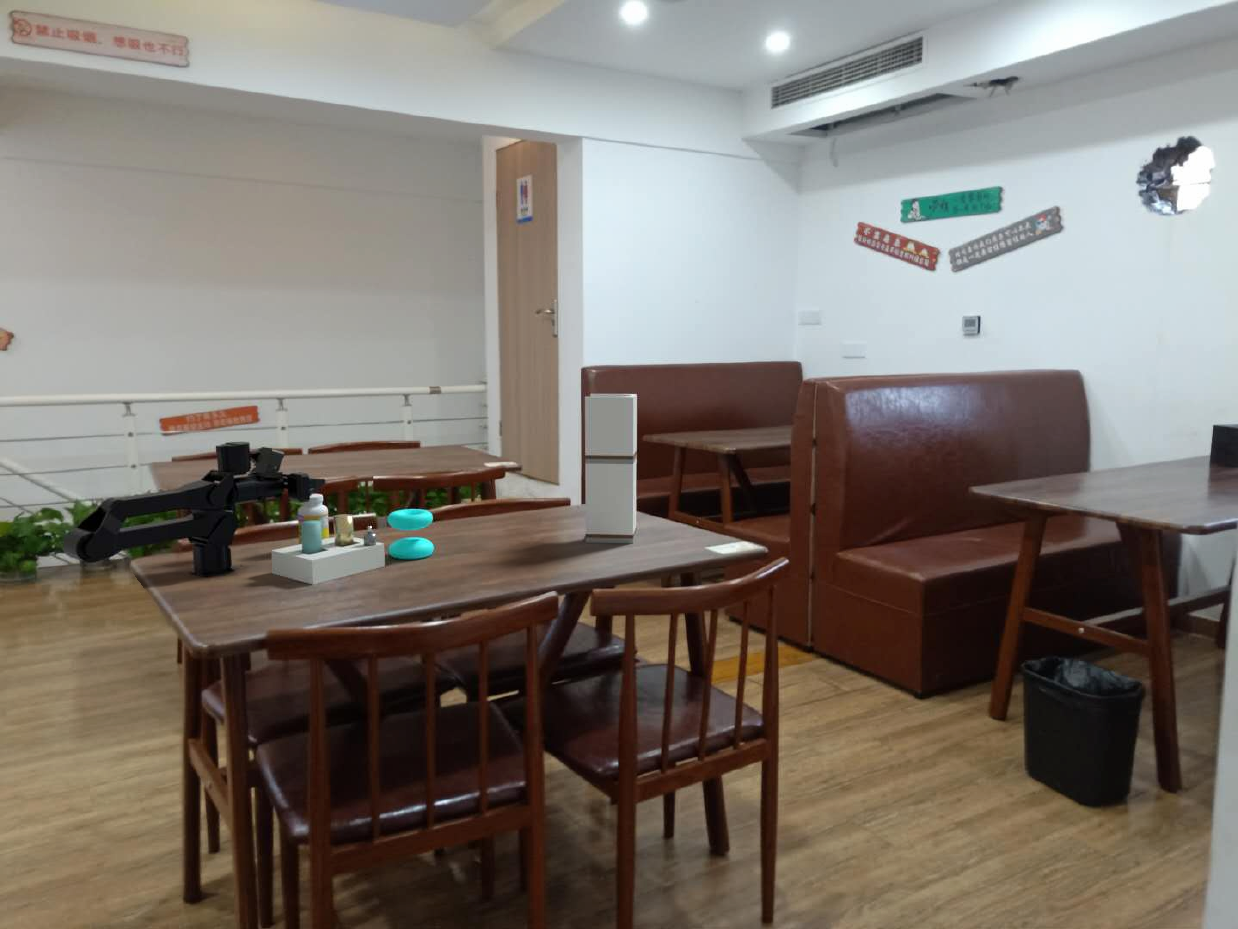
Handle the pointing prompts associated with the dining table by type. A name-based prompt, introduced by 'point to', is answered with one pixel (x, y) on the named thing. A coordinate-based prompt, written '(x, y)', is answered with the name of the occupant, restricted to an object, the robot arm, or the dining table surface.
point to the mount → (327, 561)
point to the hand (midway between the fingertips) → (312, 479)
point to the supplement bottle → (314, 514)
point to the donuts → (412, 545)
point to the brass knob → (343, 530)
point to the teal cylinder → (311, 537)
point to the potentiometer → (369, 538)
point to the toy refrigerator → (610, 467)
